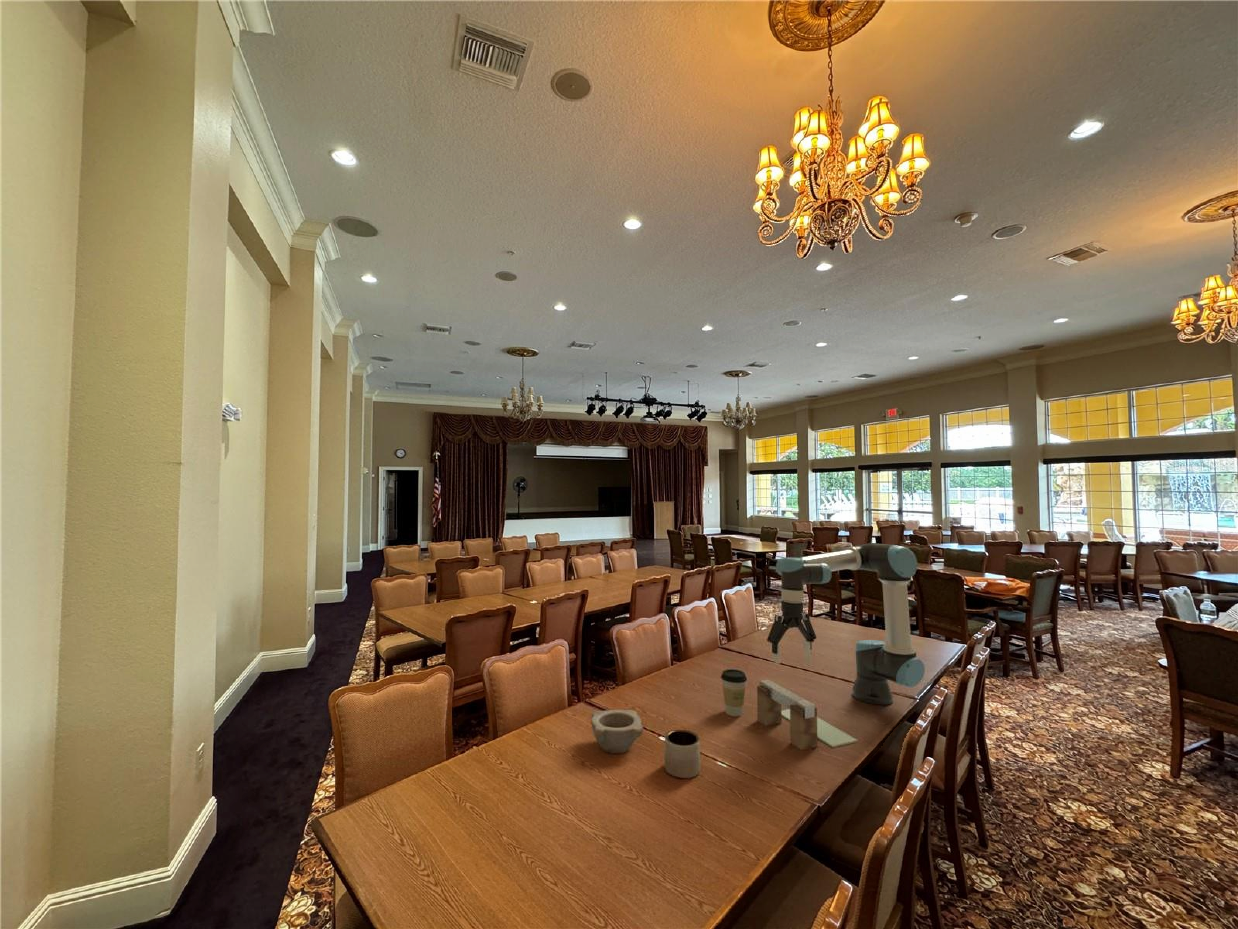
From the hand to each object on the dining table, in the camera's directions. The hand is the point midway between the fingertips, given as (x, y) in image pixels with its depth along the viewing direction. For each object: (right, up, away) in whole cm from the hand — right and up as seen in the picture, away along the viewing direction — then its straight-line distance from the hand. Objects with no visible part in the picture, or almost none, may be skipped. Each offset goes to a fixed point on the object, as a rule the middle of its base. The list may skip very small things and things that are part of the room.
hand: (791, 661), depth 175 cm
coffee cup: (-18, -26, +14) cm, 34 cm away
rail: (-3, -15, -2) cm, 15 cm away
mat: (+9, -25, +2) cm, 27 cm away
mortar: (-63, -24, -13) cm, 69 cm away
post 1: (-6, -25, +6) cm, 27 cm away
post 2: (0, -24, -11) cm, 26 cm away
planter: (-43, -23, -26) cm, 55 cm away
